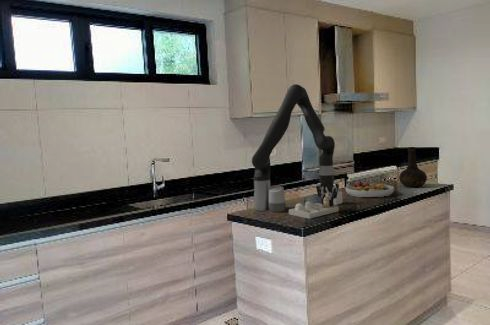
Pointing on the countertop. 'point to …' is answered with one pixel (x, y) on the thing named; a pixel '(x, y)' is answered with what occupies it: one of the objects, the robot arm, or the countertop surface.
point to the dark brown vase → (412, 172)
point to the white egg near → (299, 207)
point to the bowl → (369, 189)
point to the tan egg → (326, 201)
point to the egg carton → (314, 211)
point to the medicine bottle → (339, 195)
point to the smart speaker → (277, 199)
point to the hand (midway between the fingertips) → (327, 205)
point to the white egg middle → (308, 205)
